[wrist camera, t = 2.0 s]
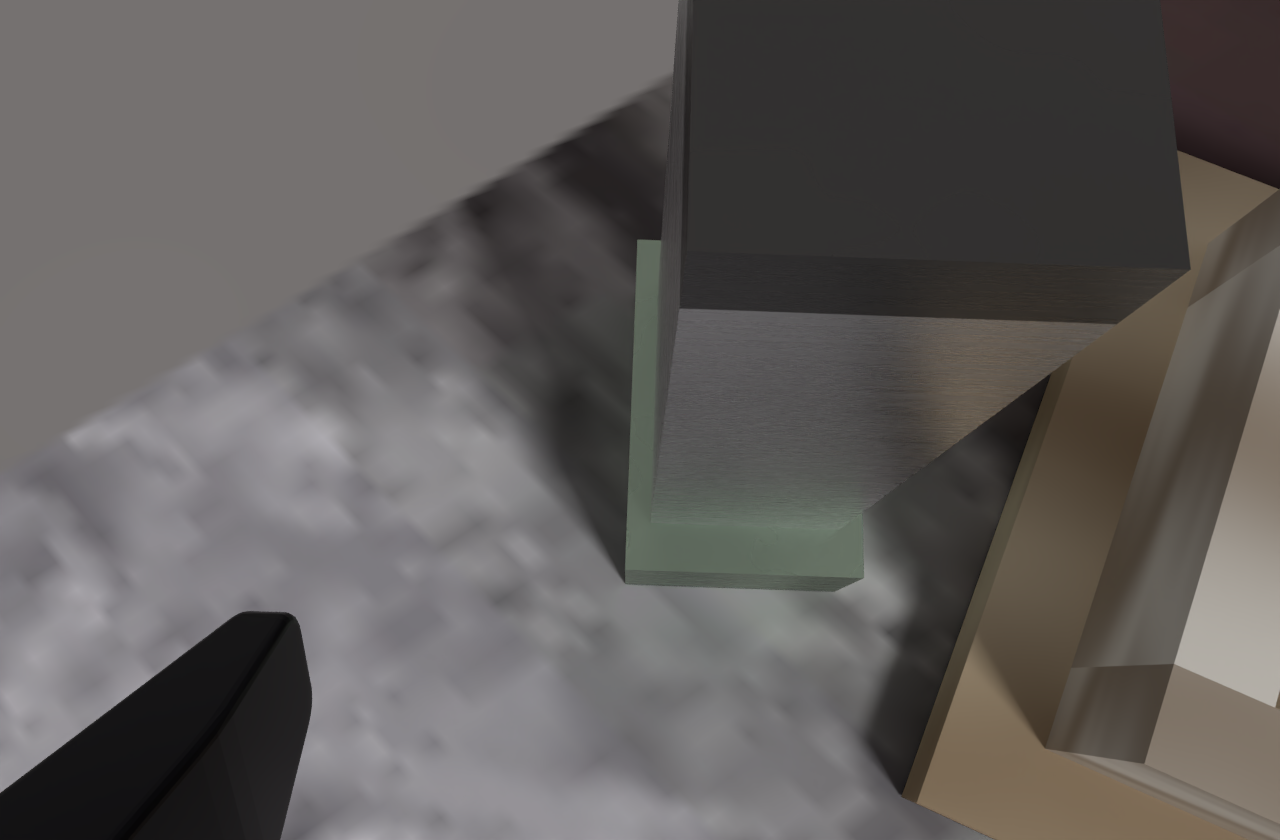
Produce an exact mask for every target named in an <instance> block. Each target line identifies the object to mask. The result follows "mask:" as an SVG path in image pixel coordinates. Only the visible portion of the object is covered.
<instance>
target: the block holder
mask: <svg viewBox="0 0 1280 840" xmlns="http://www.w3.org/2000/svg"><path fill="white" fill-rule="evenodd" d="M1177 153H1178V162H1179V170H1180V179H1181V188H1182V197H1183V205H1184V214H1185V223H1186V232H1187V240H1188V249H1189V258H1190V266H1191V270H1190V271H1188V272H1187V273H1185V274H1184V275H1183V276H1181V277H1180V278H1179V279H1177V280H1176V281H1175V282H1173V283H1172V284H1171V285H1169V286H1168V287H1167V288H1165V289H1164V290H1162V291H1161V292H1160V293H1158V294H1157V295H1156V296H1154V297H1153V298H1152V299H1150V300H1149V301H1148V302H1146V303H1145V304H1144V305H1142V306H1141V307H1140V308H1138V309H1137V310H1135V311H1134V312H1133V313H1131V314H1130V315H1129V316H1127V317H1126V318H1125V319H1123V320H1122V321H1121V322H1119V323H1118V324H1117V325H1115V326H1114V327H1112V328H1111V329H1110V330H1108V331H1107V332H1106V333H1104V334H1103V335H1102V336H1100V337H1099V338H1098V339H1096V340H1095V341H1094V342H1092V343H1091V344H1090V345H1088V346H1087V347H1085V348H1084V349H1083V350H1081V351H1080V352H1079V353H1077V354H1076V355H1075V356H1073V357H1072V358H1071V359H1069V360H1068V361H1067V362H1065V363H1064V364H1062V365H1061V366H1060V367H1058V368H1057V369H1056V370H1054V371H1053V372H1052V373H1051V376H1050V379H1049V382H1048V385H1047V387H1046V390H1045V393H1044V396H1043V399H1042V402H1041V404H1040V407H1039V410H1038V413H1037V416H1036V418H1035V421H1034V424H1033V427H1032V430H1031V433H1030V435H1029V438H1028V441H1027V444H1026V447H1025V449H1024V452H1023V455H1022V458H1021V461H1020V464H1019V466H1018V469H1017V472H1016V475H1015V478H1014V481H1013V483H1012V486H1011V489H1010V492H1009V495H1008V497H1007V500H1006V503H1005V506H1004V509H1003V512H1002V514H1001V517H1000V520H999V523H998V526H997V528H996V531H995V534H994V537H993V540H992V543H991V545H990V548H989V551H988V554H987V557H986V560H985V562H984V565H983V568H982V571H981V574H980V576H979V579H978V582H977V585H976V588H975V591H974V593H973V596H972V599H971V602H970V605H969V607H968V610H967V613H966V616H965V619H964V622H963V624H962V627H961V630H960V633H959V636H958V638H957V641H956V644H955V647H954V650H953V653H952V655H951V658H950V661H949V664H948V667H947V670H946V672H945V675H944V678H943V681H942V684H941V686H940V689H939V692H938V695H937V698H936V701H935V703H934V706H933V709H932V712H931V715H930V717H929V720H928V723H927V726H926V729H925V732H924V734H923V737H922V740H921V743H920V746H919V749H918V751H917V754H916V757H915V760H914V763H913V765H912V768H911V771H910V774H909V777H908V780H907V782H906V785H905V788H904V791H903V794H902V796H901V797H903V798H905V799H908V800H910V801H912V802H914V803H916V804H918V805H921V806H923V807H925V808H927V809H929V810H931V811H934V812H936V813H938V814H940V815H942V816H945V817H947V818H949V819H951V820H953V821H955V822H958V823H960V824H962V825H964V826H966V827H969V828H971V829H973V830H975V831H977V832H979V833H982V834H984V835H986V836H988V837H990V838H992V839H995V840H1280V189H1277V188H1274V187H1272V186H1269V185H1266V184H1264V183H1261V182H1259V181H1256V180H1253V179H1251V178H1248V177H1246V176H1243V175H1240V174H1238V173H1235V172H1232V171H1230V170H1227V169H1225V168H1222V167H1219V166H1217V165H1214V164H1212V163H1209V162H1206V161H1204V160H1201V159H1199V158H1196V157H1193V156H1191V155H1188V154H1186V153H1183V152H1180V151H1178V150H1177Z"/></svg>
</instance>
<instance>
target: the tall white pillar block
mask: <svg viewBox="0 0 1280 840" xmlns="http://www.w3.org/2000/svg"><path fill="white" fill-rule="evenodd" d="M1190 270H1191V266H1190V258H1189V249H1188V240H1187V232H1186V223H1185V214H1184V205H1183V197H1182V188H1181V179H1180V170H1179V162H1178V153H1177V144H1176V136H1175V127H1174V118H1173V109H1172V101H1171V92H1170V83H1169V74H1168V66H1167V57H1166V48H1165V40H1164V31H1163V22H1162V13H1161V5H1160V0H679V4H678V17H677V31H676V44H675V58H674V71H673V85H672V98H671V112H670V126H669V139H668V153H667V167H666V180H665V194H664V207H663V221H662V235H661V240H637V266H636V292H635V318H634V345H633V371H632V398H631V424H630V451H629V477H628V504H627V530H626V557H625V584H634V585H662V586H690V587H718V588H747V589H775V590H803V591H831V592H835V591H837V590H839V589H841V588H843V587H845V586H848V585H850V584H852V583H854V582H856V581H859V580H861V579H863V578H864V561H863V517H862V512H864V511H865V510H867V509H868V508H869V507H871V506H872V505H873V504H875V503H876V502H877V501H879V500H880V499H881V498H883V497H884V496H885V495H887V494H888V493H890V492H891V491H892V490H894V489H895V488H896V487H898V486H899V485H900V484H902V483H903V482H904V481H906V480H907V479H908V478H910V477H911V476H912V475H914V474H915V473H917V472H918V471H919V470H921V469H922V468H923V467H925V466H926V465H927V464H929V463H930V462H931V461H933V460H934V459H935V458H937V457H938V456H940V455H941V454H942V453H944V452H945V451H946V450H948V449H949V448H950V447H952V446H953V445H954V444H956V443H957V442H958V441H960V440H961V439H962V438H964V437H965V436H967V435H968V434H969V433H971V432H972V431H973V430H975V429H976V428H977V427H979V426H980V425H981V424H983V423H984V422H985V421H987V420H988V419H990V418H991V417H992V416H994V415H995V414H996V413H998V412H999V411H1000V410H1002V409H1003V408H1004V407H1006V406H1007V405H1008V404H1010V403H1011V402H1012V401H1014V400H1015V399H1017V398H1018V397H1019V396H1021V395H1022V394H1023V393H1025V392H1026V391H1027V390H1029V389H1030V388H1031V387H1033V386H1034V385H1035V384H1037V383H1038V382H1040V381H1041V380H1042V379H1044V378H1045V377H1046V376H1048V375H1049V374H1050V373H1052V372H1053V371H1054V370H1056V369H1057V368H1058V367H1060V366H1061V365H1062V364H1064V363H1065V362H1067V361H1068V360H1069V359H1071V358H1072V357H1073V356H1075V355H1076V354H1077V353H1079V352H1080V351H1081V350H1083V349H1084V348H1085V347H1087V346H1088V345H1090V344H1091V343H1092V342H1094V341H1095V340H1096V339H1098V338H1099V337H1100V336H1102V335H1103V334H1104V333H1106V332H1107V331H1108V330H1110V329H1111V328H1112V327H1114V326H1115V325H1117V324H1118V323H1119V322H1121V321H1122V320H1123V319H1125V318H1126V317H1127V316H1129V315H1130V314H1131V313H1133V312H1134V311H1135V310H1137V309H1138V308H1140V307H1141V306H1142V305H1144V304H1145V303H1146V302H1148V301H1149V300H1150V299H1152V298H1153V297H1154V296H1156V295H1157V294H1158V293H1160V292H1161V291H1162V290H1164V289H1165V288H1167V287H1168V286H1169V285H1171V284H1172V283H1173V282H1175V281H1176V280H1177V279H1179V278H1180V277H1181V276H1183V275H1184V274H1185V273H1187V272H1188V271H1190Z"/></svg>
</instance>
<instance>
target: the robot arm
mask: <svg viewBox="0 0 1280 840" xmlns="http://www.w3.org/2000/svg"><path fill="white" fill-rule="evenodd" d="M311 708H312V688H311V682H310V677H309V672H308V666H307V661H306V655H305V650H304V645H303V639H302V634H301V629H300V625H299V623H298V621H297V619H296V617H294V616H293V615H291V614H289V613H286V612H260V611H247V612H242V613H239V614H237V615H235V616H234V617H232V618H231V619H229V620H228V621H227V622H225V623H224V624H223V625H221V626H220V627H219V628H217V629H216V630H215V631H214V632H212V633H211V634H210V635H208V636H207V637H206V638H204V639H203V640H202V641H200V642H199V643H198V644H196V645H195V646H194V647H192V648H191V649H190V650H188V651H187V652H186V653H184V654H183V655H182V656H181V657H179V658H178V659H177V660H175V661H174V662H173V663H171V664H170V665H169V666H167V667H166V668H165V669H163V670H162V671H161V672H159V673H158V674H157V675H155V676H154V677H153V678H151V679H150V680H149V681H148V682H146V683H145V684H144V685H142V686H141V687H140V688H138V689H137V690H136V691H134V692H133V693H132V694H130V695H129V696H128V697H126V698H125V699H124V700H122V701H121V702H120V703H118V704H117V705H116V706H115V707H113V708H112V709H111V710H109V711H108V712H107V713H105V714H104V715H103V716H101V717H100V718H99V719H97V720H96V721H95V722H93V723H92V724H91V725H89V726H88V727H87V728H85V729H84V730H83V731H82V732H80V733H79V734H78V735H76V736H75V737H74V738H72V739H71V740H70V741H68V742H67V743H66V744H64V745H63V746H62V747H60V748H59V749H58V750H56V751H55V752H54V753H52V754H51V755H50V756H48V757H47V758H46V759H45V760H43V761H42V762H41V763H39V764H38V765H37V766H35V767H34V768H33V769H31V770H30V771H29V772H27V773H26V774H25V775H23V776H22V777H21V778H19V779H18V780H17V781H15V782H14V783H13V784H12V785H10V786H9V787H8V788H6V789H5V790H4V791H2V792H1V793H0V840H280V839H281V835H282V831H283V827H284V823H285V819H286V814H287V810H288V806H289V802H290V798H291V794H292V790H293V786H294V782H295V778H296V774H297V770H298V766H299V762H300V758H301V754H302V749H303V745H304V741H305V737H306V733H307V729H308V725H309V721H310V716H311Z"/></svg>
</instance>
